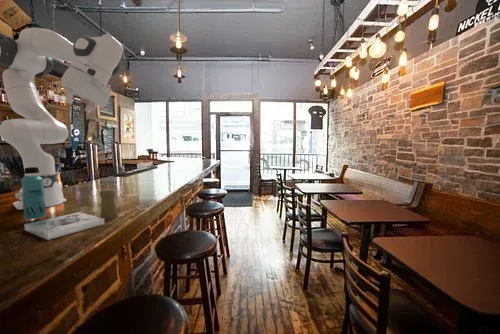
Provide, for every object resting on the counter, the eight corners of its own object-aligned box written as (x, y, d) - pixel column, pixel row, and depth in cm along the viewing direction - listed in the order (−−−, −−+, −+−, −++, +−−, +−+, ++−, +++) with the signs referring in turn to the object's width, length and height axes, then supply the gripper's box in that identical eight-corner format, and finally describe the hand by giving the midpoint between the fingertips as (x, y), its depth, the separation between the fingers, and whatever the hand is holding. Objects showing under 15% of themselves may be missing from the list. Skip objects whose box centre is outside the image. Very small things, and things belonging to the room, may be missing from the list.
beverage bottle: (20, 222, 96) (14, 167, 94) (40, 217, 102) (35, 166, 100) (31, 224, 93) (25, 168, 91) (51, 219, 99) (46, 166, 97)
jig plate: (24, 230, 87) (24, 224, 87) (79, 217, 101) (79, 212, 101) (48, 240, 78) (47, 233, 78) (104, 224, 93) (104, 218, 92)
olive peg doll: (112, 219, 98) (110, 190, 96) (96, 219, 98) (94, 190, 97) (120, 215, 104) (119, 187, 103) (105, 215, 104) (103, 187, 103)
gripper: (106, 85, 111) (90, 113, 110) (68, 58, 91) (48, 93, 89) (118, 90, 110) (102, 119, 109) (83, 64, 90) (63, 99, 88)
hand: (78, 107), depth 99 cm, fingers open, 8 cm apart
